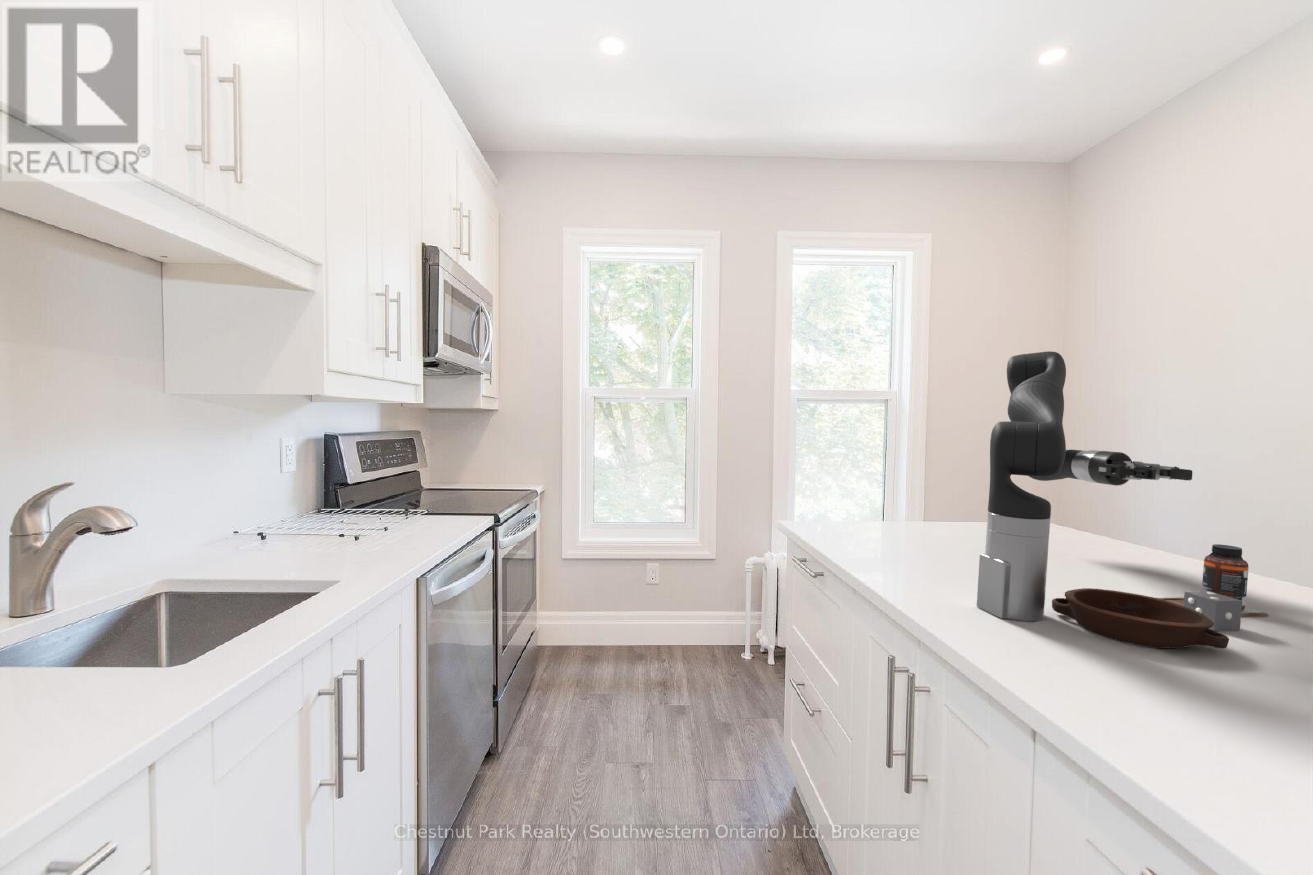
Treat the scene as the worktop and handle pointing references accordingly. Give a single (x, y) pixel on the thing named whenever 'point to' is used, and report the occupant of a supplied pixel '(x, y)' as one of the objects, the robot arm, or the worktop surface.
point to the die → (1216, 609)
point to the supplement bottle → (1226, 572)
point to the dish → (1138, 619)
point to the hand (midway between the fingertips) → (1172, 474)
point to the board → (1243, 613)
